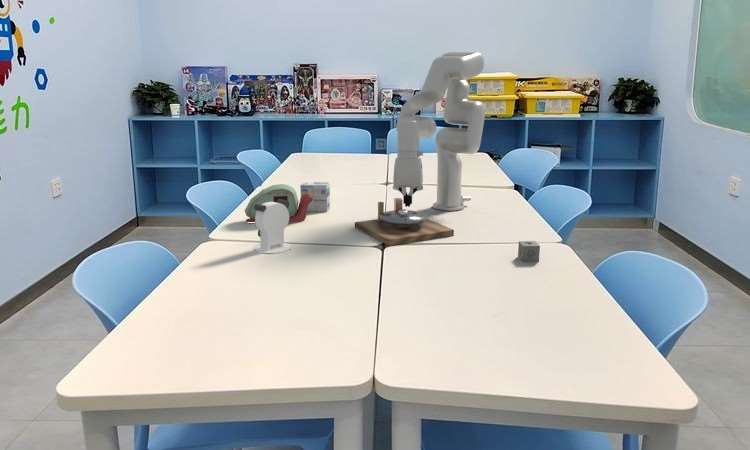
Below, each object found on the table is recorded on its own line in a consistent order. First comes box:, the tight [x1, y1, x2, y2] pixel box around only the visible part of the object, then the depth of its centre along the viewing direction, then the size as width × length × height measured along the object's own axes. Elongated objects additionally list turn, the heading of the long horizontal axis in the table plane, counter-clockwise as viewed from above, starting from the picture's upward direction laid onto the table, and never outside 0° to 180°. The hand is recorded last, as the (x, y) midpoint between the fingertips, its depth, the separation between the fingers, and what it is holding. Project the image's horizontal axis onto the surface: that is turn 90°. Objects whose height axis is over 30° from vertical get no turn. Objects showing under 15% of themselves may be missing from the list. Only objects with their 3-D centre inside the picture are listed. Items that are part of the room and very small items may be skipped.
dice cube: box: [517, 240, 541, 263], centre depth 194 cm, size 5×5×5 cm
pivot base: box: [354, 201, 455, 247], centre depth 223 cm, size 25×25×9 cm
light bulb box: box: [299, 181, 331, 213], centre depth 254 cm, size 11×7×11 cm, turn 84°
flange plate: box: [380, 197, 428, 225], centre depth 224 cm, size 18×16×5 cm
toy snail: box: [244, 183, 313, 223], centre depth 237 cm, size 25×8×14 cm, turn 97°
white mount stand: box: [254, 199, 292, 254], centre depth 204 cm, size 12×11×15 cm
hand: (407, 205), depth 231 cm, fingers closed
